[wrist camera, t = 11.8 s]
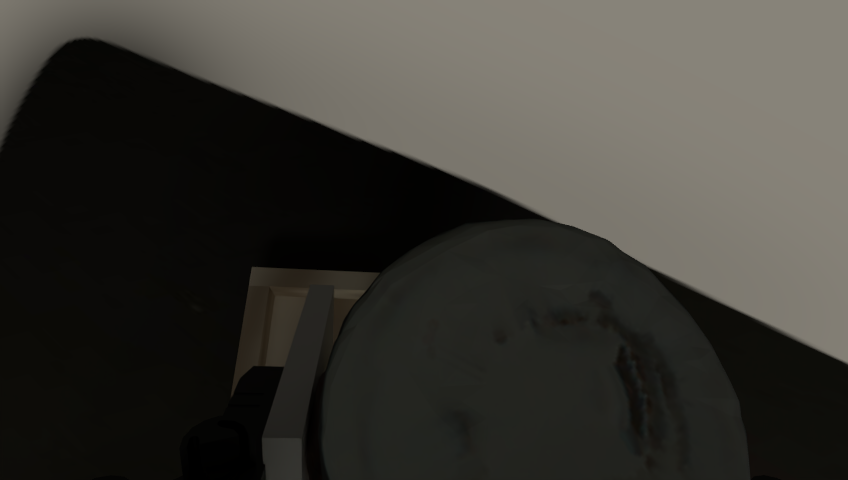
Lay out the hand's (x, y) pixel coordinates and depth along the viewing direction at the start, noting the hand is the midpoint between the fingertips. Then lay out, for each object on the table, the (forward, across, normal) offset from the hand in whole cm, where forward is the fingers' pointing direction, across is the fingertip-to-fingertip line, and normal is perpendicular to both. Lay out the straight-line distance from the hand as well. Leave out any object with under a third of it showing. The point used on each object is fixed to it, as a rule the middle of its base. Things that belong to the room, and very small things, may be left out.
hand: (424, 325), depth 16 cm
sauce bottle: (+4, 0, -9) cm, 9 cm away
